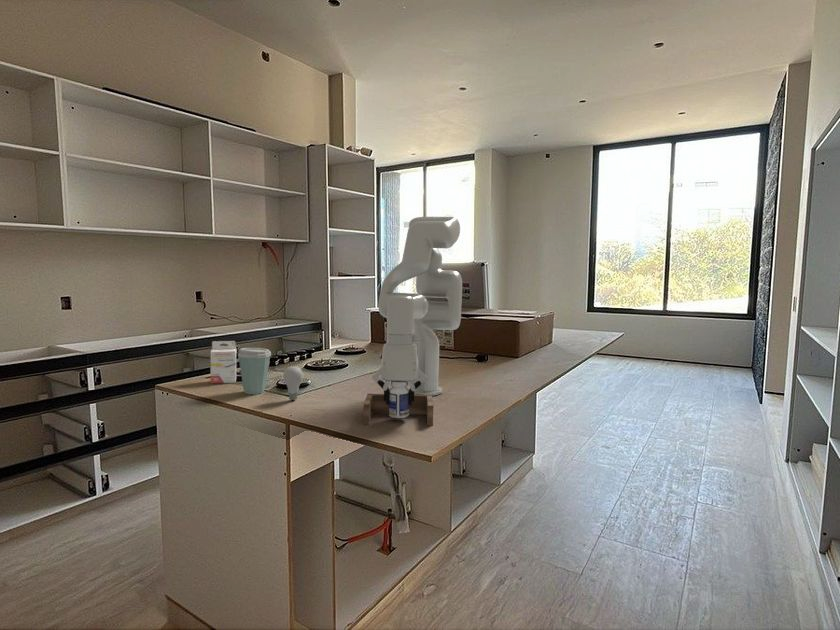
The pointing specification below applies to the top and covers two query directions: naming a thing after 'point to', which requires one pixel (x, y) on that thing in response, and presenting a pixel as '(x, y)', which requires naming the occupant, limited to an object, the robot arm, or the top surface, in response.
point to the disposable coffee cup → (254, 369)
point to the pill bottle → (399, 399)
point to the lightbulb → (293, 380)
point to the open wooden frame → (378, 405)
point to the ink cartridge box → (223, 362)
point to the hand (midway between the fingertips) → (398, 403)
